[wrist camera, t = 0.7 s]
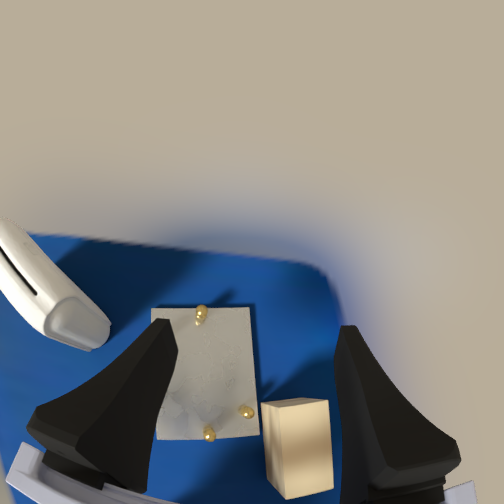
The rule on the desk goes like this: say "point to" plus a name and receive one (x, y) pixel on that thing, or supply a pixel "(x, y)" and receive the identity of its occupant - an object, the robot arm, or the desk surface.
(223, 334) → the plate
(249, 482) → the desk surface
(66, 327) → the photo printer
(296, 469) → the board
